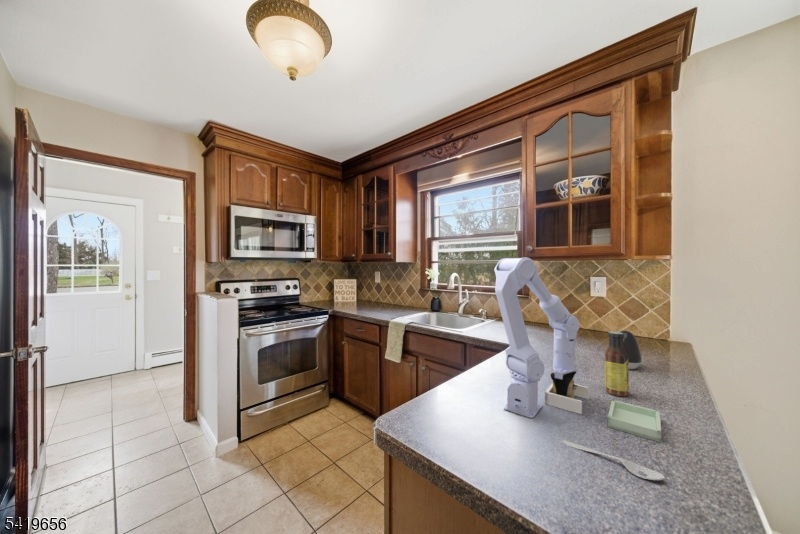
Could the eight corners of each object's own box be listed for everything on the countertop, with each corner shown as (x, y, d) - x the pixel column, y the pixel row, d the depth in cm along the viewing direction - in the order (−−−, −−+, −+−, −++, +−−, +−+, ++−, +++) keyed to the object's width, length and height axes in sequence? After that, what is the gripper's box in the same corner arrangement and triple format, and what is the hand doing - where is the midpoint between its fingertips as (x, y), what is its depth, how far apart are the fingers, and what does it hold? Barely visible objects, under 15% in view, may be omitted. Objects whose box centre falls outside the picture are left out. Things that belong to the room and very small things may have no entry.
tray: (661, 442, 69) (661, 432, 69) (607, 426, 76) (607, 417, 76) (659, 420, 79) (659, 411, 79) (611, 408, 86) (612, 399, 86)
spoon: (663, 491, 55) (663, 482, 55) (548, 441, 70) (548, 434, 70) (666, 480, 57) (666, 471, 57) (554, 434, 73) (554, 428, 73)
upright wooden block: (574, 406, 87) (575, 386, 87) (552, 400, 91) (552, 380, 90) (577, 400, 90) (577, 381, 90) (556, 395, 94) (556, 376, 94)
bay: (581, 414, 82) (581, 401, 82) (544, 403, 88) (544, 392, 88) (588, 398, 92) (588, 387, 92) (555, 389, 98) (555, 379, 98)
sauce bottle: (632, 398, 92) (633, 335, 92) (610, 396, 93) (611, 334, 93) (621, 389, 98) (622, 331, 98) (600, 388, 100) (601, 330, 100)
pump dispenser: (604, 365, 123) (605, 329, 123) (619, 361, 127) (619, 327, 127) (632, 373, 114) (632, 334, 114) (646, 369, 118) (647, 332, 118)
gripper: (574, 360, 82) (573, 408, 83) (582, 349, 94) (582, 391, 94) (547, 355, 87) (546, 400, 87) (558, 345, 98) (557, 385, 98)
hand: (563, 395), depth 91 cm, fingers closed on upright wooden block, 4 cm apart
